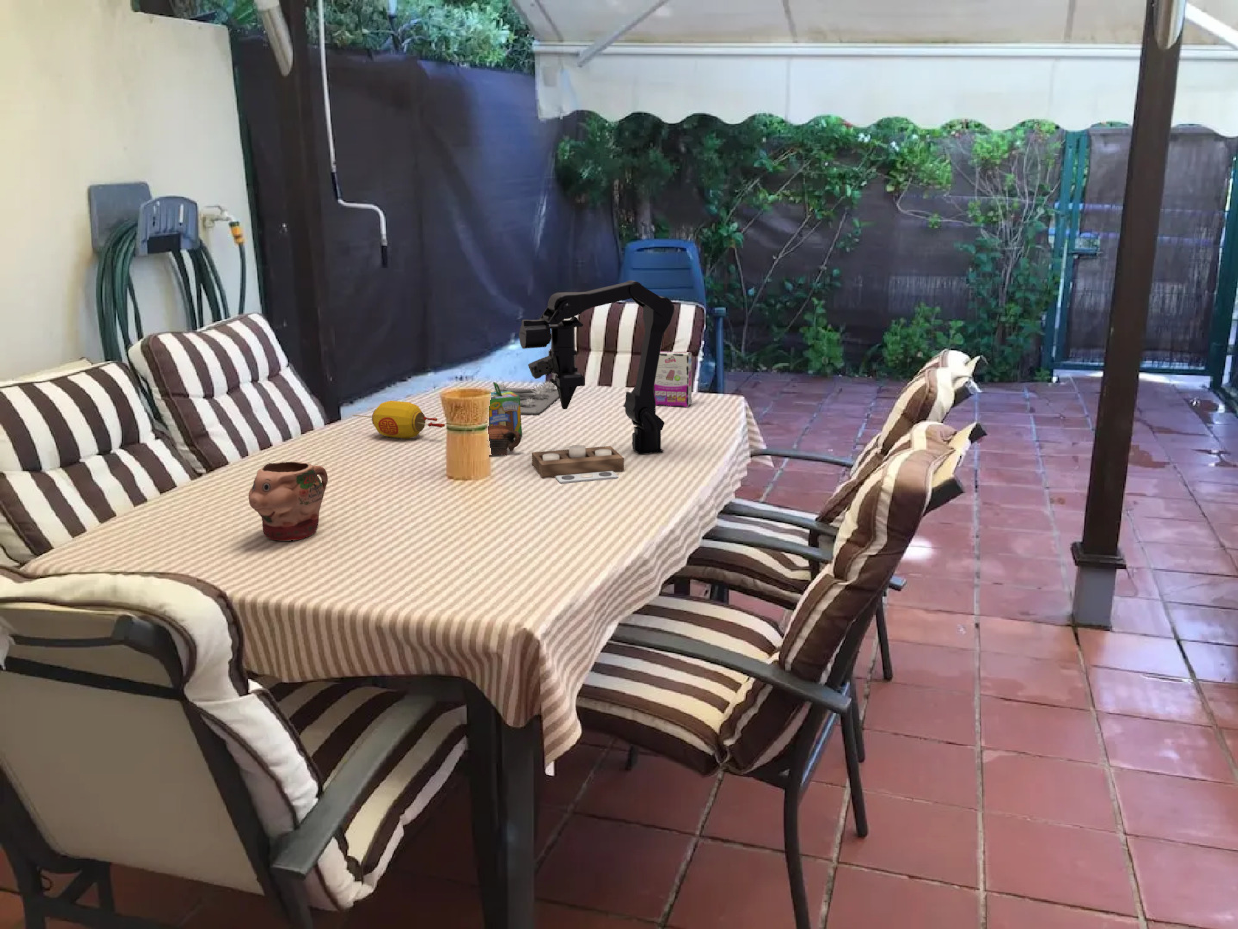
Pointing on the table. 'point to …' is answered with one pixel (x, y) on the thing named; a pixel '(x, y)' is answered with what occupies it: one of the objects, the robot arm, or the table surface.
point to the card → (586, 477)
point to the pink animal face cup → (288, 499)
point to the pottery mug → (502, 439)
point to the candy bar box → (674, 379)
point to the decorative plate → (534, 397)
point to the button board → (577, 463)
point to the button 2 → (602, 452)
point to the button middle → (577, 451)
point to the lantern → (400, 419)
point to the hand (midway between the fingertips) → (564, 408)
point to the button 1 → (550, 456)
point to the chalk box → (505, 409)
